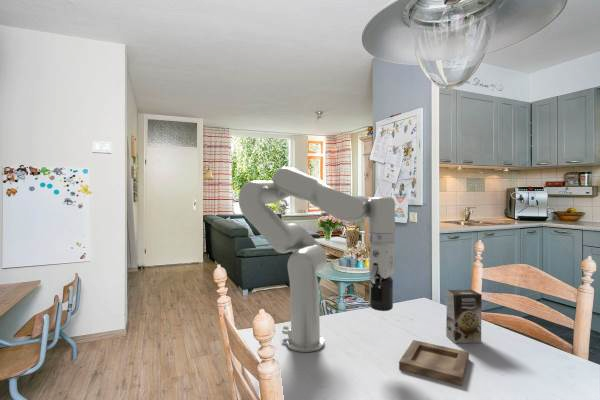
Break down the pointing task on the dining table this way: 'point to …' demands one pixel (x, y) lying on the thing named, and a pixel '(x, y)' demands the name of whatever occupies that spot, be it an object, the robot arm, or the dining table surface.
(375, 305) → the supplement bottle
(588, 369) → the dining table surface
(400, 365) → the wooden tray
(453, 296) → the coffee box
